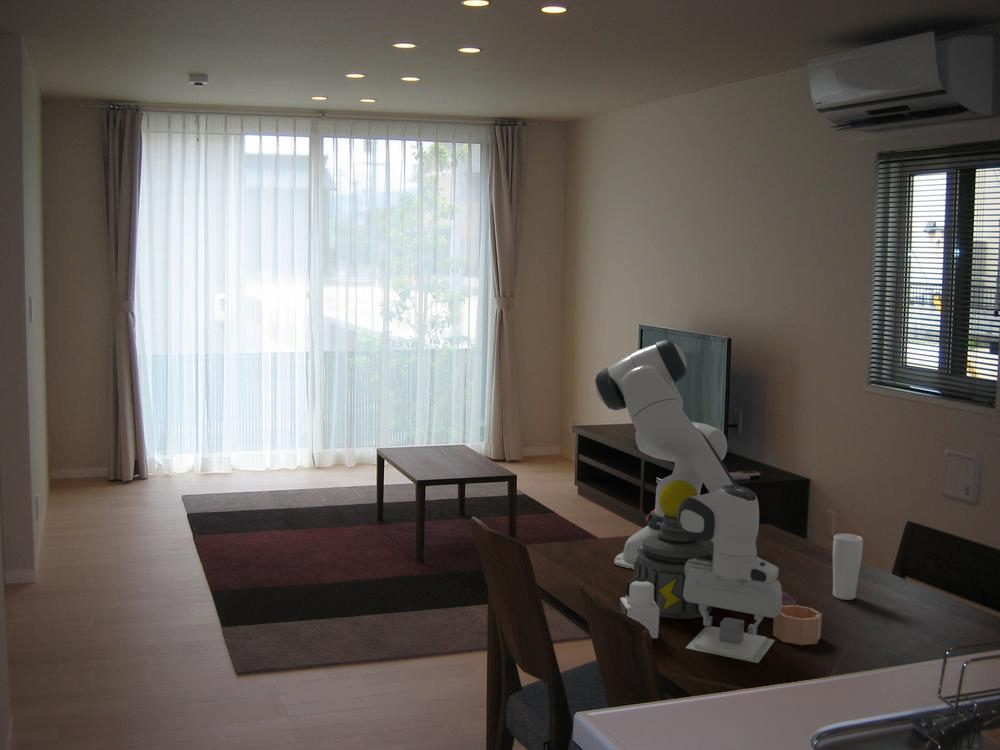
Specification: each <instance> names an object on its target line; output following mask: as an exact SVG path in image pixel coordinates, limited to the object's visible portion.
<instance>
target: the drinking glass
mask: <svg viewBox="0 0 1000 750" xmlns="http://www.w3.org/2000/svg"><path fill="white" fill-rule="evenodd" d="M863 541H864V539H863V537H862V536H859V535H856V534H852V533H836V534H834V536H833V542H832V596H833V597H834V598H836V599H839V600H842V601H843V600H844V601H850V600H851V601H852V600H855V599H856V597H857V587H858V583H859V582H858V580H859V575H860V568H861V562H862V558H863V549H864V548H863V545H864V542H863Z"/></svg>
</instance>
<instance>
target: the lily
mask: <svg viewBox="0 0 1000 750" xmlns="http://www.w3.org/2000/svg"><path fill="white" fill-rule="evenodd" d="M785 605H797V601H796V600H795V599H794V598H793V597H792V596H791V595H790V594H789V593H787V592H786V591H784V590H782V606H785Z"/></svg>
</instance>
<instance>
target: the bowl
mask: <svg viewBox="0 0 1000 750" xmlns="http://www.w3.org/2000/svg"><path fill="white" fill-rule="evenodd" d="M822 619H823V613H822V612H819V611H818V610H816V609H814V608H813V607H808V606H804V605H803V606H801V605H797V604H787V605H785V606H782V611H781V613H780V614H779V615H778V616H777V617H776V618H773V623H772V624H773V625H772V628H773V629H772V636H773V637H775V638H777V639H778V640H780V641H781V642H783V643H787V644H788V643H789V644H792V645H793V644H794V645H799V646H805V645H817V644H818V642H819V640H821V638H822V637H821V634H822V621H823V620H822Z"/></svg>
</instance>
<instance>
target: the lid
mask: <svg viewBox="0 0 1000 750" xmlns="http://www.w3.org/2000/svg"><path fill="white" fill-rule="evenodd" d="M709 627H710V628H709V629H708V630H707V631H706V632H705V633H704V634H703V635H702V636H701V637H700V638H699V639H698V640H697V641H696V642H695V647H697V648H702V649H707V650H712V651H716V652H721V653H726V654H731V655H736V656H741V657H746V658H750V659H753V658H754V656H755V655H756V654H757V652H758V651H759V650H760V649H761V647H762V646H763V645H764V643H765V642H766V641H767V638H768V637H767V636H765V635H764V636H763V635H759V634H756V635H750V634H748V632H745V631H744V630H745V620H744V619H743V620H742V619H739V618H733V617H727V616H725V617H724V618H723V619H722V620H721V621H720V623H719V627H718V626H712V625H711V626H709Z"/></svg>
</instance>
